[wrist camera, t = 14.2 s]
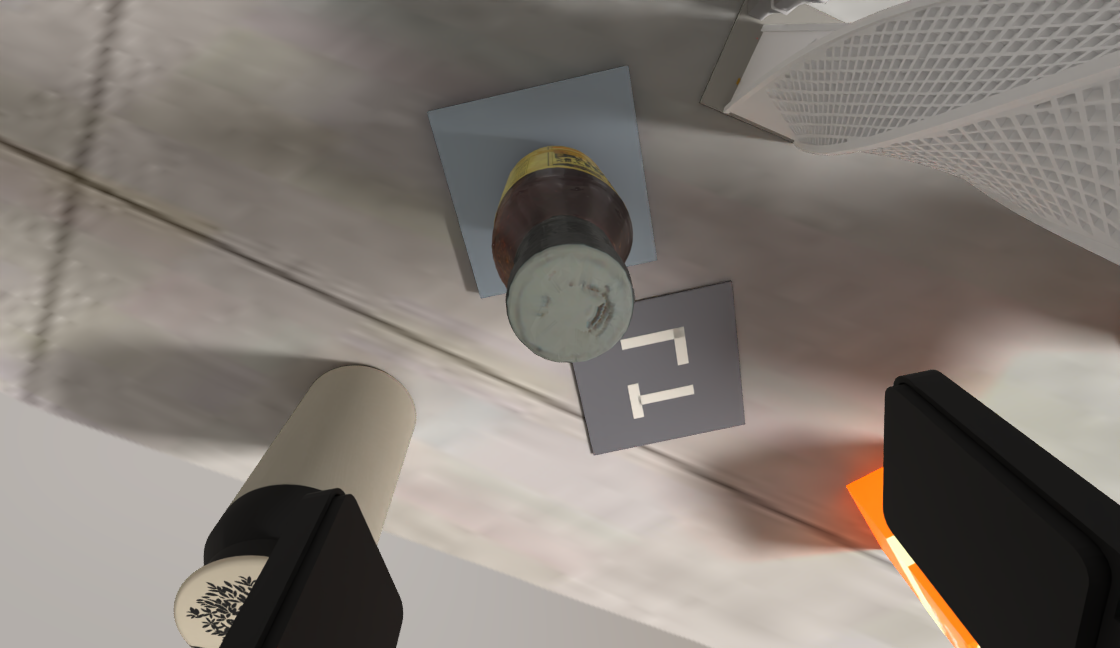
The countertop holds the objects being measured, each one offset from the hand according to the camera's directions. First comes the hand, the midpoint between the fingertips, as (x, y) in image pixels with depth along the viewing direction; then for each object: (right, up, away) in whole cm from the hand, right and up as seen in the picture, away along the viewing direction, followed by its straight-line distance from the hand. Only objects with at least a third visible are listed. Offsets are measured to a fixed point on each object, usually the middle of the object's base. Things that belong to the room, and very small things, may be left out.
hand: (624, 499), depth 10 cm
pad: (-2, +12, +27) cm, 29 cm away
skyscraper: (+12, +18, +25) cm, 34 cm away
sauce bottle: (-2, +11, +26) cm, 28 cm away
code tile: (+6, -1, +33) cm, 33 cm away
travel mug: (-16, -3, +33) cm, 37 cm away
